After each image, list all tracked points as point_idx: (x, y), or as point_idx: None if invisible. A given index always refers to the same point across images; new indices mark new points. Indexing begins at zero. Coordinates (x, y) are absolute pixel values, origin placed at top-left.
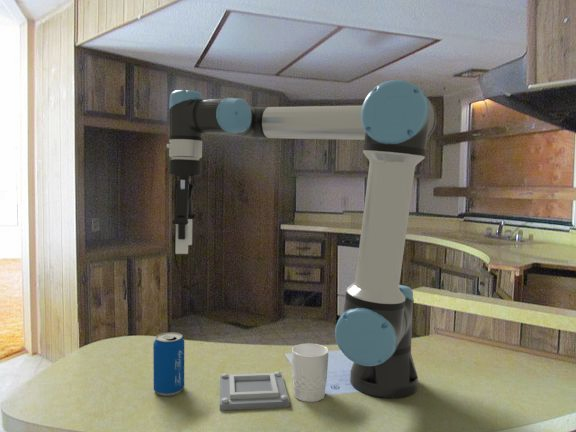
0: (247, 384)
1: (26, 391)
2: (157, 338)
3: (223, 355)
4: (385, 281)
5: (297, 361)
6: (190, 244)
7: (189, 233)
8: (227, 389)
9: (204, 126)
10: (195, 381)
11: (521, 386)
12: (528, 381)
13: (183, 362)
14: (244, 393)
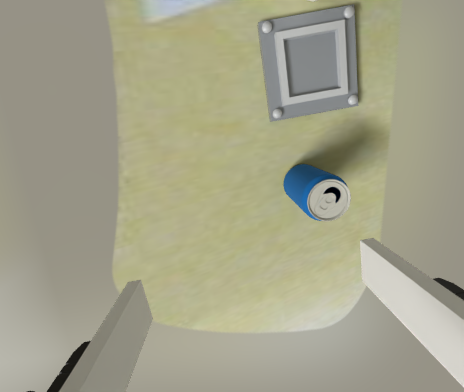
0: (300, 75)
1: (303, 323)
2: (332, 216)
3: (175, 134)
4: None
5: None
6: (140, 286)
7: (124, 327)
8: (315, 103)
9: None
10: (273, 155)
11: None
12: None
13: (317, 169)
14: (345, 73)
